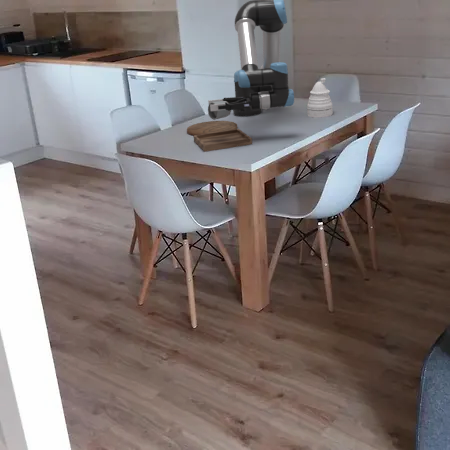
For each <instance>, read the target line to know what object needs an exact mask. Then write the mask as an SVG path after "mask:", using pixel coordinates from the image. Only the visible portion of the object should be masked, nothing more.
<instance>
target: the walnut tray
mask: <svg viewBox="0 0 450 450" xmlns="http://www.w3.org/2000/svg"><path fill="white" fill-rule="evenodd" d="M193 142H194V143H195V144H196V145H197V146H198V147H199V148H200V149H201V150H202V151H203V152H204V153H205V152H210V151H217V150H218V151H219V150H224V149H229V148H236V147H238V148H239V147H243V146H249V145H253V138H252V137H251V136H249V135H248V134H247V133H245V132H244V131H242V130H241V129H240V128H237V129H234V130H227V131H220V132H214V133H207V134H200V135H194V136H193Z"/></svg>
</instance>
